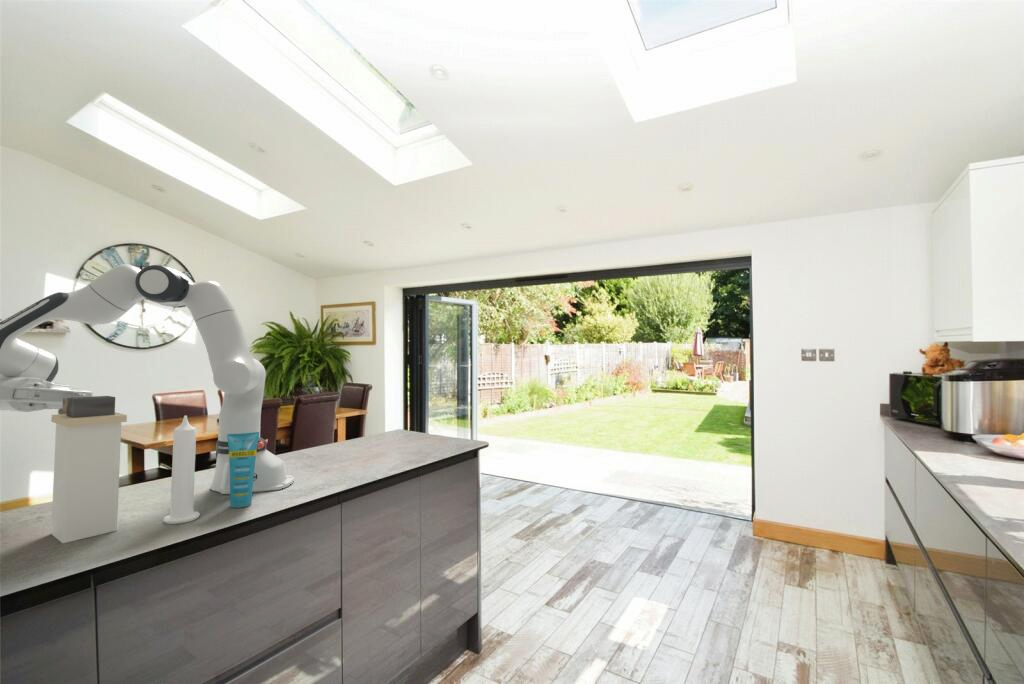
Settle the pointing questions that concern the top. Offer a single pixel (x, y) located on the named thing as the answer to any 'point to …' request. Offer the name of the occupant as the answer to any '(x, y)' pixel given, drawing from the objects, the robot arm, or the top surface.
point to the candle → (183, 475)
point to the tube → (242, 467)
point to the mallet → (89, 406)
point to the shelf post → (86, 476)
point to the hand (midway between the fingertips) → (60, 396)
